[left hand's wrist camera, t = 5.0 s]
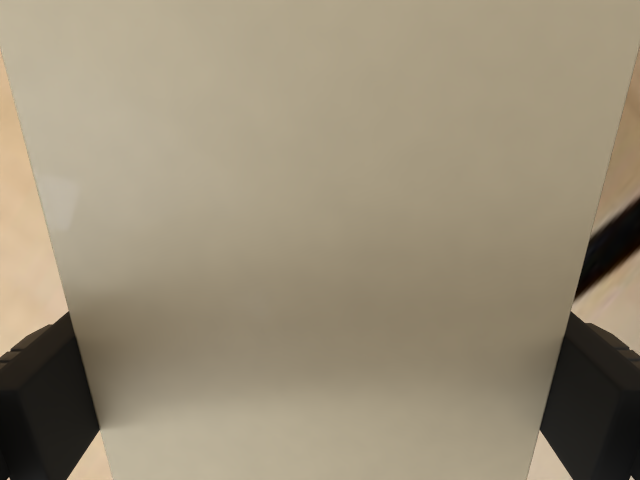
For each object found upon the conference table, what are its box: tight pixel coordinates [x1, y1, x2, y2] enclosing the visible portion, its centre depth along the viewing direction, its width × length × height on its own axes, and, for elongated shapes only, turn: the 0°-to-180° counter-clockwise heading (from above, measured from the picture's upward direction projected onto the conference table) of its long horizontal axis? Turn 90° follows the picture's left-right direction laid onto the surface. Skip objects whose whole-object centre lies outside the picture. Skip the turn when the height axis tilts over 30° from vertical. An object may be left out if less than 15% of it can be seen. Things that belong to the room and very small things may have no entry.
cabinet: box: [0, 0, 640, 480], centre depth 12 cm, size 18×11×11 cm, turn 0°
